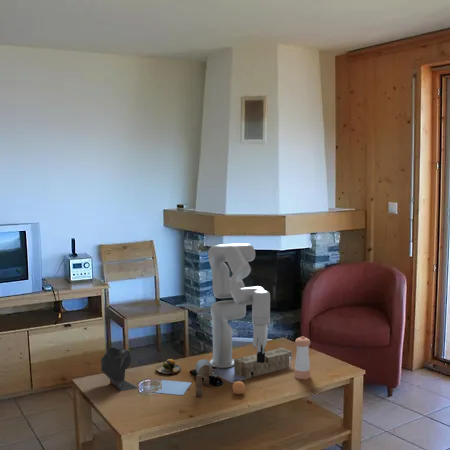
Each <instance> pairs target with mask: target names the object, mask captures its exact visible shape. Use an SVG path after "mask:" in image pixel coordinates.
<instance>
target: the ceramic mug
mask: <svg viewBox="0 0 450 450" xmlns="http://www.w3.org/2000/svg"><path fill="white" fill-rule="evenodd" d="M203 365H209V376H211V377H213V376H214V377H213V378H217V377H218V376H219V372H218V371H217V370H215V369H213V366H211V364H210V360H209V359H206V358H205V359H204V358H203V359H199V360H198V361H197V362H196V364H195V371H196V373H197V375H202V378H204V370H203Z"/></svg>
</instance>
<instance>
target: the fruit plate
mask: <svg viewBox="0 0 450 450" xmlns="http://www.w3.org/2000/svg"><path fill="white" fill-rule="evenodd" d="M155 370H156V371H158V372H159V373H160V374H161V373H162V374H165V375H167V374H170V375H171V376H175V375H177V373H178V374H180V373H181V372H182V368H181V366H180V365H178V364H176V360H174V359H173V358H169V359H167V360H166V362H165V361H164V362H163V364H160V365H158V366H156V368H155Z"/></svg>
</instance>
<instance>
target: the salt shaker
mask: <svg viewBox="0 0 450 450" xmlns="http://www.w3.org/2000/svg"><path fill="white" fill-rule="evenodd" d="M294 342H295V343H294V344H295V346H296V356H295V361H294V362H295V363H294V364H295V367H294V374H293V375H294V378H295V379H298V380H308V379H310V378H311V369H310V364H311V363H310V356H309V352H310V351H309V348H310V347H309V346H310V345H311V340H310V339H309V338H307V337H305V336H303V335H302V336H299V337H297V338H296V339H295V341H294Z"/></svg>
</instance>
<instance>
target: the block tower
mask: <svg viewBox="0 0 450 450" xmlns="http://www.w3.org/2000/svg"><path fill="white" fill-rule="evenodd" d="M264 353H265V362H264V363H258V362H257V353H255V354H250V355H248V356H247V355H246V356H243V357H239V358H234V359H233V360H234V366H233V372H234V375H235V376H237V377H239V378H245V379H249V378H252V377H256V376H261V375H265V374H268V373H269V374H270V373H272V372H276V371H277V372H278V371H281V370H284V369H288V368H290V357H292V355H293V353H292V350H289V349H286V348H284V347H279V348H276V349H272V350H268V351H265V352H264Z"/></svg>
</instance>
